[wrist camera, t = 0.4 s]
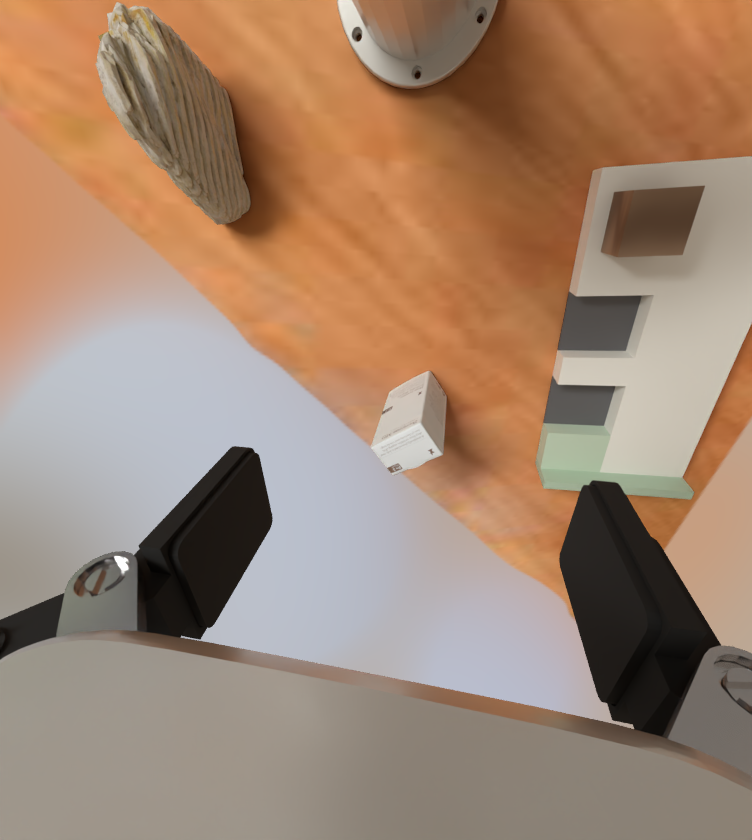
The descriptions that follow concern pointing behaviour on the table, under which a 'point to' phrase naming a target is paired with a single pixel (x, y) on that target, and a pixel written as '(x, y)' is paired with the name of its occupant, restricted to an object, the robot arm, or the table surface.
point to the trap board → (649, 336)
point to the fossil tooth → (173, 110)
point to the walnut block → (651, 221)
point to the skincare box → (412, 424)
